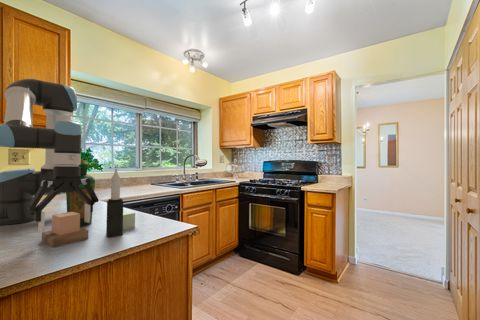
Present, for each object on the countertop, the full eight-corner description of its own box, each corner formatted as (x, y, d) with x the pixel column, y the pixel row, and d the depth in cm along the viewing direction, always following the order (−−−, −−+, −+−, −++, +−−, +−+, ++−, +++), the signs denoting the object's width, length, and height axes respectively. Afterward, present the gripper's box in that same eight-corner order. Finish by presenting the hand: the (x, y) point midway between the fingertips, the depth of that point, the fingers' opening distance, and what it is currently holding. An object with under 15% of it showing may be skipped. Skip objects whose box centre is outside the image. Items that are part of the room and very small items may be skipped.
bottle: (78, 229, 90) (80, 160, 90) (57, 226, 92) (59, 159, 93) (100, 222, 100) (101, 160, 101) (81, 220, 103) (82, 160, 103)
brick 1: (51, 232, 77) (52, 214, 77) (72, 227, 82) (72, 211, 82) (59, 235, 74) (59, 217, 74) (79, 230, 79) (80, 213, 79)
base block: (41, 241, 76) (41, 232, 76) (75, 233, 85) (75, 225, 85) (53, 247, 71) (53, 238, 71) (88, 238, 80) (88, 230, 80)
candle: (105, 233, 85) (107, 168, 85) (120, 231, 88) (122, 168, 88) (107, 237, 81) (109, 168, 81) (123, 235, 84) (124, 168, 84)
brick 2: (112, 227, 93) (113, 213, 93) (126, 224, 98) (127, 211, 98) (121, 230, 90) (121, 215, 90) (134, 226, 95) (135, 212, 95)
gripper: (23, 166, 66) (21, 238, 65) (109, 165, 87) (108, 220, 87) (15, 165, 70) (13, 233, 69) (99, 165, 91) (98, 217, 90)
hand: (65, 226), depth 78 cm, fingers open, 13 cm apart
